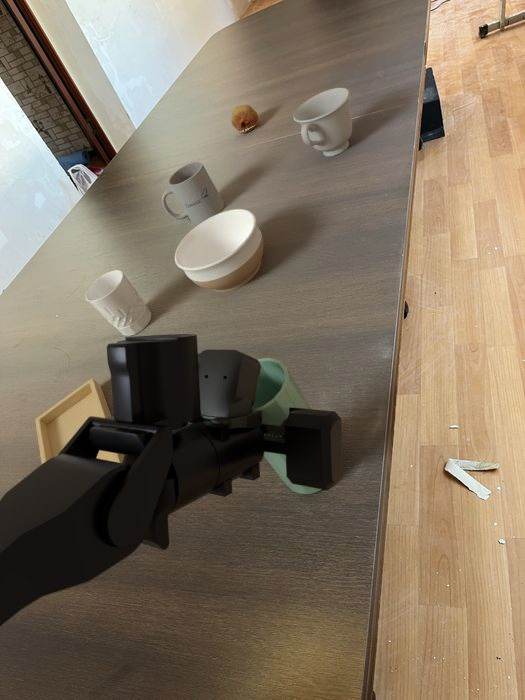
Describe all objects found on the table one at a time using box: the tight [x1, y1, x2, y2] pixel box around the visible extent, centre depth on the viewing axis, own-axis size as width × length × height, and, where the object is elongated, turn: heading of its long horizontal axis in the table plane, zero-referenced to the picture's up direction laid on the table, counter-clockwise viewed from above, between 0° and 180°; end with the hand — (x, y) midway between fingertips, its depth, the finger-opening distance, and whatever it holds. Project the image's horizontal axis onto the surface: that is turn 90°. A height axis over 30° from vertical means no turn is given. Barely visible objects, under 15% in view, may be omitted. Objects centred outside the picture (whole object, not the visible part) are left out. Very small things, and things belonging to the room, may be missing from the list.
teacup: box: [292, 87, 353, 158], centre depth 101 cm, size 12×15×10 cm
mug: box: [161, 160, 225, 225], centre depth 109 cm, size 12×9×10 cm
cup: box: [252, 357, 323, 495], centre depth 52 cm, size 7×7×15 cm
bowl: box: [174, 208, 265, 293], centre depth 88 cm, size 16×16×8 cm
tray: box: [34, 377, 124, 465], centre depth 72 cm, size 30×12×2 cm, turn 29°
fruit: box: [230, 104, 259, 134], centre depth 132 cm, size 7×7×10 cm
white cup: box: [85, 269, 152, 337], centre depth 90 cm, size 8×8×10 cm
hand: (288, 419), depth 52 cm, fingers closed on cup, 7 cm apart
